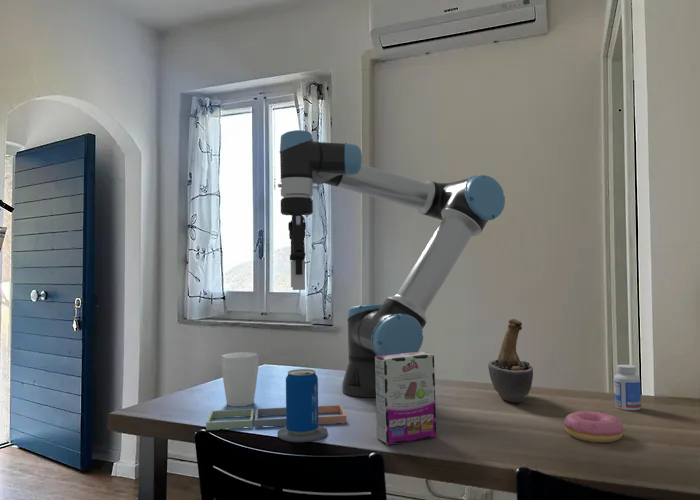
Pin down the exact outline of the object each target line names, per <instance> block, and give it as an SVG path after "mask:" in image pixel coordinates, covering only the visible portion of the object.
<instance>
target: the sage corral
mask: <svg viewBox="0 0 700 500" xmlns="http://www.w3.org/2000/svg"><path fill="white" fill-rule="evenodd" d="M235 416H251V417H249V419H239V420H221V421H220V420H219V421H217V420H216V421H214V420H213V419H222V418H221V417H233V418H236V417H235ZM254 420H255V408H244V409H240V408H239V409H225V410H224V409H222V410H210V412H209V415H208V417H207V419H206V422H205V430H206V431H220V429H223V430H227V429H226V428H243V429H245V428H244V427H252V426H253V425H254ZM252 428H253V427H252Z"/></svg>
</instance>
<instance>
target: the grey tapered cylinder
mask: <svg viewBox="0 0 700 500" xmlns="http://www.w3.org/2000/svg"><path fill="white" fill-rule="evenodd" d="M258 354H259V353H256V352H253V351H251V352H250V351H249V352H247V351H243V352H241V351H239V352H238V351H237V352H230V353H225V354H222V355H221V373H222V380H223V388H224V394H225V401H226V405H227V406H229V405H230V406H229V407H234V406H241V407H248V406H250V405H252V404H254V403H255V397H256V396H255V395H256V390H257V380H258V374H259V355H258ZM247 405H248V406H247Z"/></svg>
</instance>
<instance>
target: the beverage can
mask: <svg viewBox="0 0 700 500" xmlns="http://www.w3.org/2000/svg"><path fill="white" fill-rule="evenodd" d="M316 372H317V371H316V370H314V369H310V368H297V369H292V370H291V369H290V370H288V372H287V376H286V377H285V407H286V415H285V418H286V426H285V427H286V429H287V430H289V431H290V433H292V434H295V435H307V434H311V433H313V432H315V430H316V429H317V428H318V416H319V413H318V406H319V378H318V375H317V374H316Z"/></svg>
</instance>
